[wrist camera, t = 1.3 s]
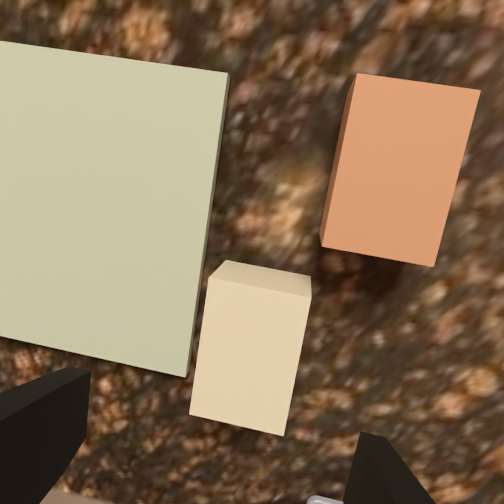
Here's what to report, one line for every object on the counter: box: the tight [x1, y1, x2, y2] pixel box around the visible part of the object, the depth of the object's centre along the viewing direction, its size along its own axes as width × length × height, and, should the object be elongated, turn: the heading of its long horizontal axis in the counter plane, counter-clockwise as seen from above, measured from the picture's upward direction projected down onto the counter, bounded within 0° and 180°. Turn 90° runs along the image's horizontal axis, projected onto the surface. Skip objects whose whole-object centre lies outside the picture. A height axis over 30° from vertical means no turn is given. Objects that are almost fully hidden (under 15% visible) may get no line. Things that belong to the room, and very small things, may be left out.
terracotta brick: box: [319, 73, 481, 267], centre depth 15 cm, size 6×4×4 cm, turn 171°
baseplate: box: [0, 41, 230, 377], centre depth 19 cm, size 14×12×1 cm
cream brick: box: [189, 260, 311, 436], centre depth 17 cm, size 6×4×4 cm, turn 171°
